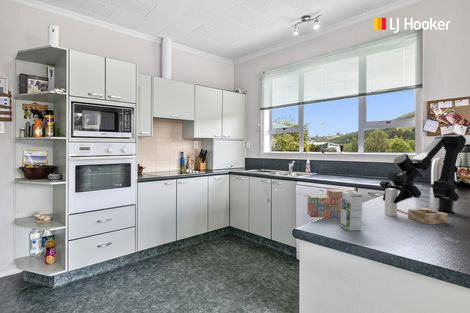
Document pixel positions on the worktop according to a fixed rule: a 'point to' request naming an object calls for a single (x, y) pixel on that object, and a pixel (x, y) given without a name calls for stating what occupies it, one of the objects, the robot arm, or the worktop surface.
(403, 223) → the worktop surface
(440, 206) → the robot arm
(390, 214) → the white rectangular block
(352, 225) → the syrup box
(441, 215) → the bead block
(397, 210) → the red square stick
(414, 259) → the worktop surface
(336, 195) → the stack of blocks
